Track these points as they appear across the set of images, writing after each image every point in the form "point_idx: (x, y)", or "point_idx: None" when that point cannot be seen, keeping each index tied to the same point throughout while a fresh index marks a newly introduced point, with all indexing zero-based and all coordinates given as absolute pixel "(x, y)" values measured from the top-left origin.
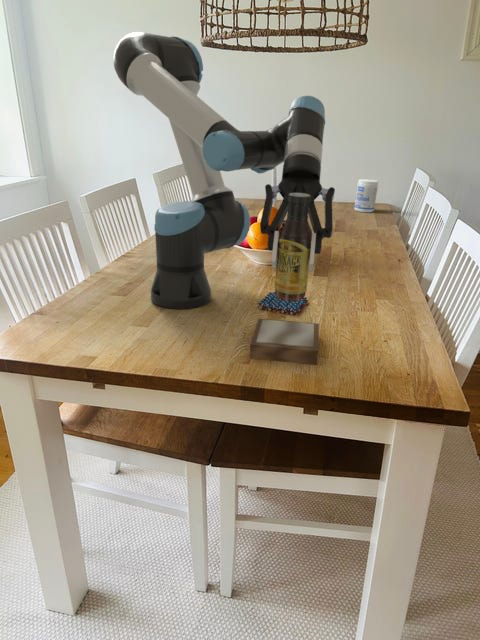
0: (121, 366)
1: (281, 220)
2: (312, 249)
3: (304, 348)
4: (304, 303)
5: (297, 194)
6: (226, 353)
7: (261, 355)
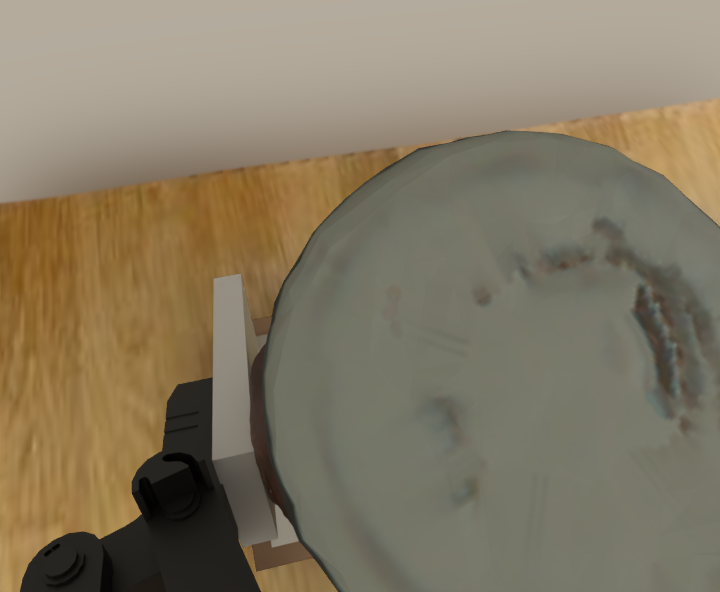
0: (709, 126)
1: None
2: (231, 342)
3: (264, 324)
4: None
5: (592, 352)
6: None
7: None
